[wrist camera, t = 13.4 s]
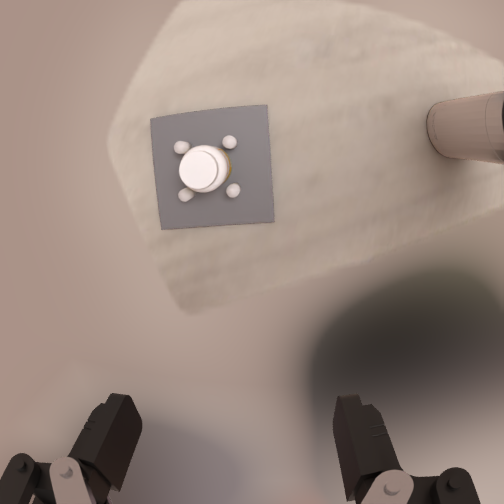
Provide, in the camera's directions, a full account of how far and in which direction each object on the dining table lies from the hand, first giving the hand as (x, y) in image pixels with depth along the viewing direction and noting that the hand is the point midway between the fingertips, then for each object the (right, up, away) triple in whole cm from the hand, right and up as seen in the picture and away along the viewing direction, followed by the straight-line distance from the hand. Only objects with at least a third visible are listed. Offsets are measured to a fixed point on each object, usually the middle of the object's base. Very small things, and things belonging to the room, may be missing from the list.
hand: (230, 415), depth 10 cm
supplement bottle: (-4, +18, +28) cm, 33 cm away
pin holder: (-5, +18, +29) cm, 34 cm away
